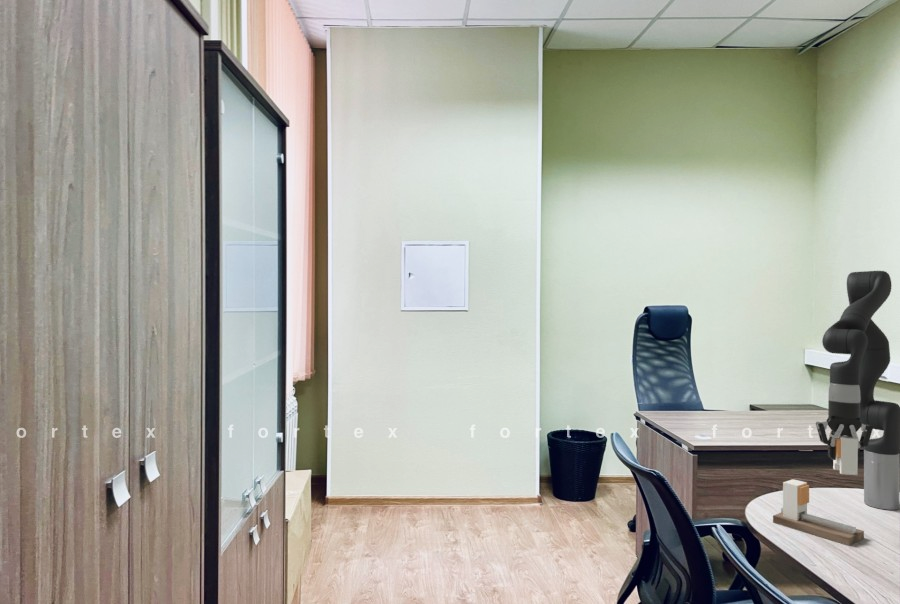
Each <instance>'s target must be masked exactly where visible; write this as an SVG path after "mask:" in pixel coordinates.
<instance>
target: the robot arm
mask: <svg viewBox="0 0 900 604" xmlns="http://www.w3.org/2000/svg"><path fill="white" fill-rule="evenodd" d="M891 279H892V278H891V276H890V274H889V272H887V271H885V270H867V271H866V270H865V271H853V272H852V271H851V272H849V274H848V275H847V278H846V293H847V298H848V304H849V305H848V306H847V307H846V308H845V309H844V310H843V312H842V313H841V315H840V318H839V320H837V321H836V322H835V323H833V324H832V325H831V326H829V327H828V329H827V330H826V331H825V332H824V333H823V336H822V341H821V343H822V347H823V349H824V350H825V351H827V352H828V353H831V354H837V355H838V354H839V355H850V356H849V358H848V360H845V361H844V360H843V361H838V362H833V363H831V364H830V366H829V386H828V406H827V407H828V408H827V409H828V411H827V412H828V413H827V414H828V417H827V419H826V421H821V422H820V421H816V422H815V426H816V429H817V435H818V437H819V441H820V442H821V443H823V444H825V445H827V456H828V457H829V458H830V460H832V461H833V460H836V447H835V444H836V439H839V437H840V436H850V437H852V438H857V439H858V461H859V460H860V457H861V456H860V454H861V451H860V449H861V448H863V502H864V504H865V505H868V506H870V507H872V508H876V509H880V510H881V509H882V510H893V511H894V510H895V511H896V510H899V509H900V405H899V404H898V403H896V402H891V401H884V400H877V399H876V400H875V398H874V393H875V391H874V390H875V386H876V385H877V382H878V381H879V379H880V378H881V377H882V375H883V374H884V373H885V372H886V370H887V369H888V367H889V365H890V362H891V350H890V342H889V339H888V337H887V336H886V335H885V333H884V332H883V330H882V329H881V328H880V327H879V326H878V325H877V323H875V322H874V321H873V319H872V317H873V316H874V314H875V313H877V311H878V310H879V309H880V308H881V307H882V306H883V305H884V303H885V302H886V301H887V300H888V298H889V297H890V295H891V292H892V280H891ZM827 427H829V428H830V433H829V437H828V436H827V432H826V430H827ZM860 428H861V429H860ZM859 430H861V435H860V438H859V436H858V434H857V432H858V431H859ZM873 430H878V431H883V434H882V436H881V437H878V438H871V435H872V433H873Z"/></svg>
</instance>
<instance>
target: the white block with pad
mask: <svg viewBox="0 0 900 604" xmlns="http://www.w3.org/2000/svg"><path fill="white" fill-rule="evenodd" d="M858 439H859V438H858ZM858 439H857V438H852V437H850V436H840V437H839V439H836V444H835V447H836V460H832V462H833V466H832V469H833V470H834V471H839V474H841V475H850V476H852V475H853V476H858V472H859V471H858V470H859V467H858V465H859V462H858V461H859V460H858V441H859V440H858Z"/></svg>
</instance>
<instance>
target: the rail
mask: <svg viewBox="0 0 900 604" xmlns="http://www.w3.org/2000/svg"><path fill="white" fill-rule="evenodd" d="M809 503H810V484H808V482H806V481H802V480H797V479H793V478H791V479H790V480H789V479H788V480H786V481H783V482H782V508H780V512H779V513H776V514H774V515H772V523H774V524H777V525H779V526H782V527H783V526H784V527H787V528H790V529H793V530H797V531H799V532H802V533H807V534H810V535H812V536H816V537H819V538H822V539H826V540H829V541H832V542H836V543H839V544H842V545H845V546H848V547H849V546H852V545H853V544H855V543H857V542H859V541H861V540H864V539H865V530H863V529H858V528H857V527H856V526H851V525H848V524H844V523H841V522H837V521H835V520H830V519H827V518H824V517H819V516H816V515H812V514H809V513H808V504H809Z"/></svg>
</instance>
